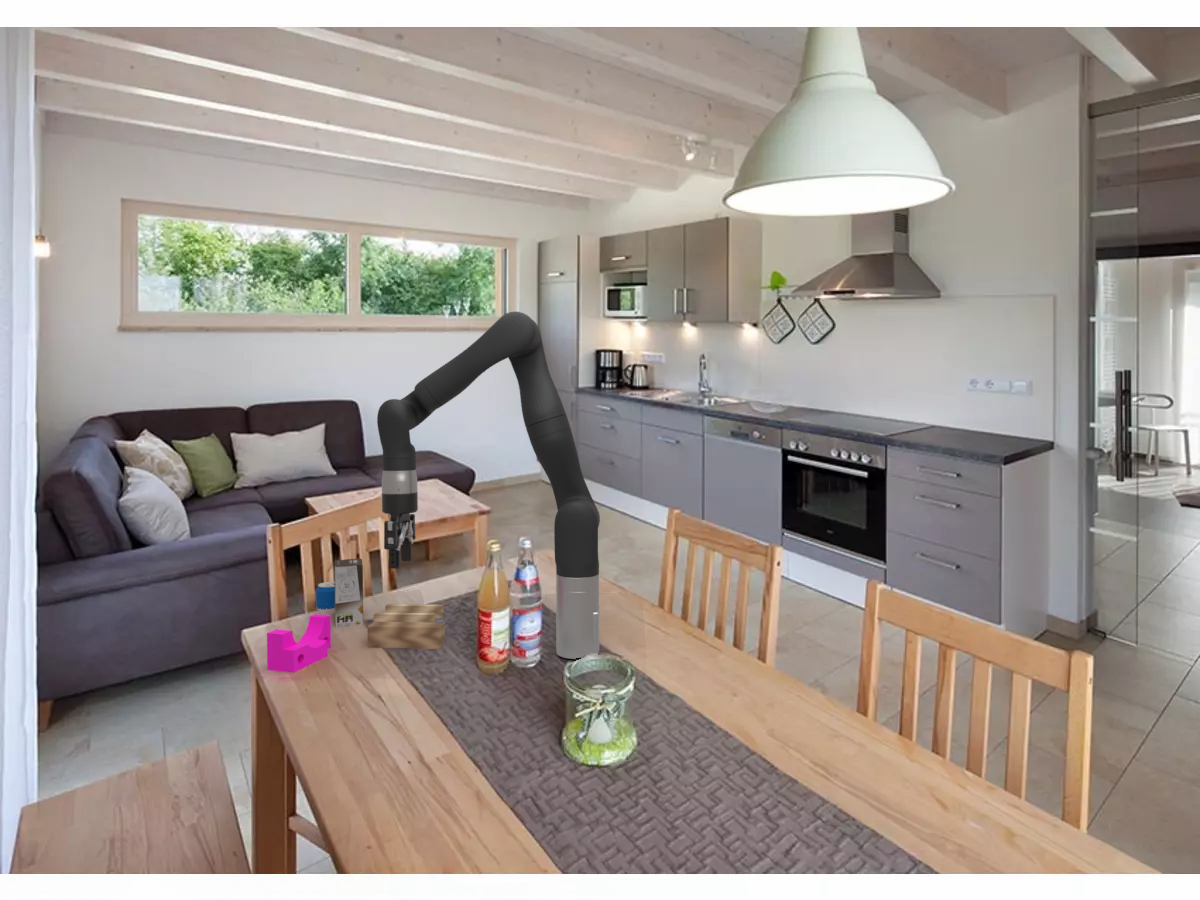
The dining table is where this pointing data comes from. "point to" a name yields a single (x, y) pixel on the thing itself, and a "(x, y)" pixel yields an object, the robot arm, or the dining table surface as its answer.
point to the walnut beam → (406, 635)
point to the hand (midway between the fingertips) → (400, 564)
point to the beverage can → (325, 595)
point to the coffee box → (348, 592)
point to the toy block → (299, 646)
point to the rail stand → (410, 613)
